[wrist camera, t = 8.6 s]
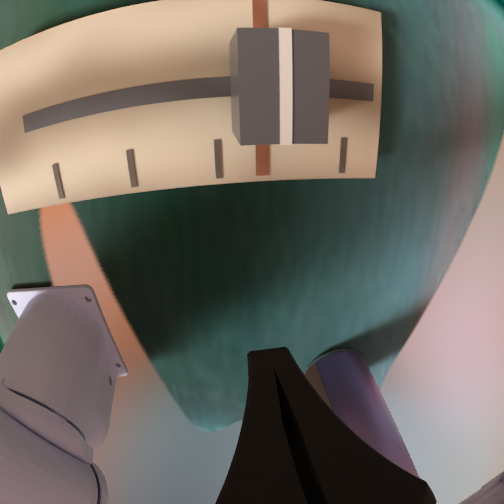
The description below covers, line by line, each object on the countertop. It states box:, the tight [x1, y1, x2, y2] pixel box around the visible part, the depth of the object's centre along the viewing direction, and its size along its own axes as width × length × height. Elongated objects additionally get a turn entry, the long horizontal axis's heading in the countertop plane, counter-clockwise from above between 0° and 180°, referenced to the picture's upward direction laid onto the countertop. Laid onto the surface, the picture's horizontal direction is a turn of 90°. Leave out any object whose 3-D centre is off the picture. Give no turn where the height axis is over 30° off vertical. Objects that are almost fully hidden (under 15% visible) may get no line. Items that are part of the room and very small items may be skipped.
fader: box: [229, 27, 330, 146], centre depth 10 cm, size 4×3×4 cm
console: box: [0, 0, 382, 214], centre depth 13 cm, size 9×20×3 cm, turn 91°
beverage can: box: [305, 349, 419, 478], centre depth 20 cm, size 6×6×15 cm
